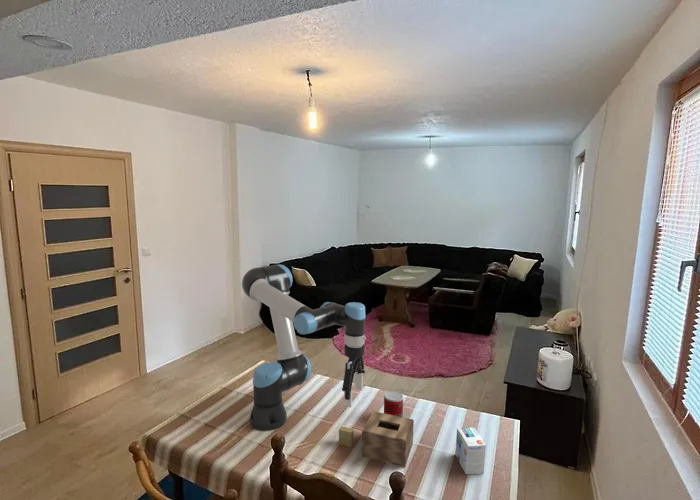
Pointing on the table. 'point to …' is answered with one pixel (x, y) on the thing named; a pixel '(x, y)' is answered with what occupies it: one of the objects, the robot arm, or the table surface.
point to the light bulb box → (470, 450)
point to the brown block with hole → (387, 438)
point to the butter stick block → (346, 436)
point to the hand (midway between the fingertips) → (353, 397)
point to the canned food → (393, 404)
